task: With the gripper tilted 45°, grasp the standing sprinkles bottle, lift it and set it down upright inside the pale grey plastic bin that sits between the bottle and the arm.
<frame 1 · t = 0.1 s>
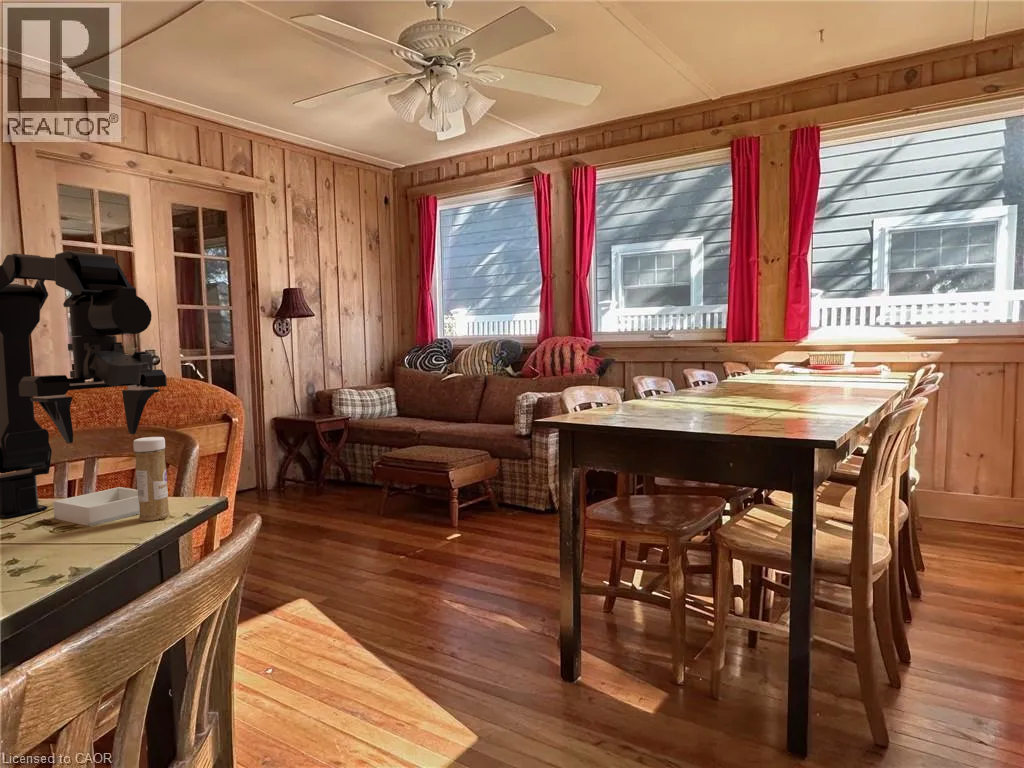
hand: (102, 438, 98), 15 cm above the table, tool pointing down, fingers open, 9 cm apart
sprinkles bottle: (154, 519, 106), on the table
grey bin: (106, 513, 110), on the table
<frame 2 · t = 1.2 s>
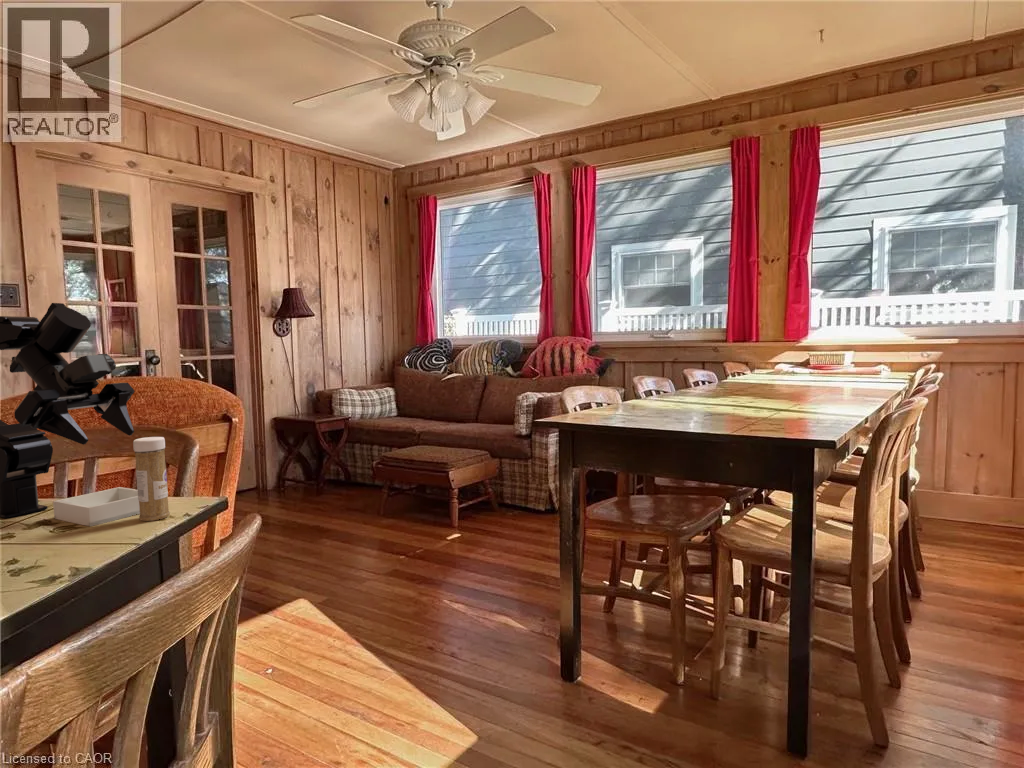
hand: (110, 437, 107), 13 cm above the table, tool tilted 45°, fingers open, 9 cm apart
nothing on the table moved.
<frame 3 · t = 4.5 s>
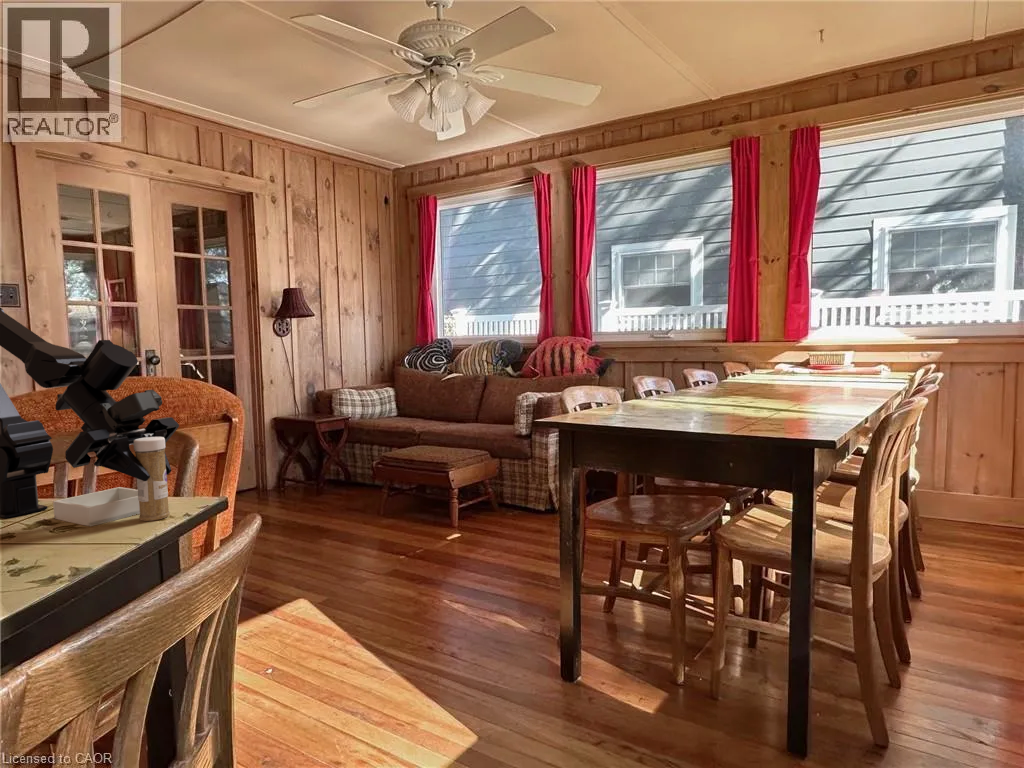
hand: (158, 476, 105), 7 cm above the table, tool tilted 45°, fingers closed on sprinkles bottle, 4 cm apart
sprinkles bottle: (154, 519, 106), on the table, touching gripper
when the fingers open (9 cm above the table, at t = 8.0 s): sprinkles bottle drops 1 cm, resting on grey bin.
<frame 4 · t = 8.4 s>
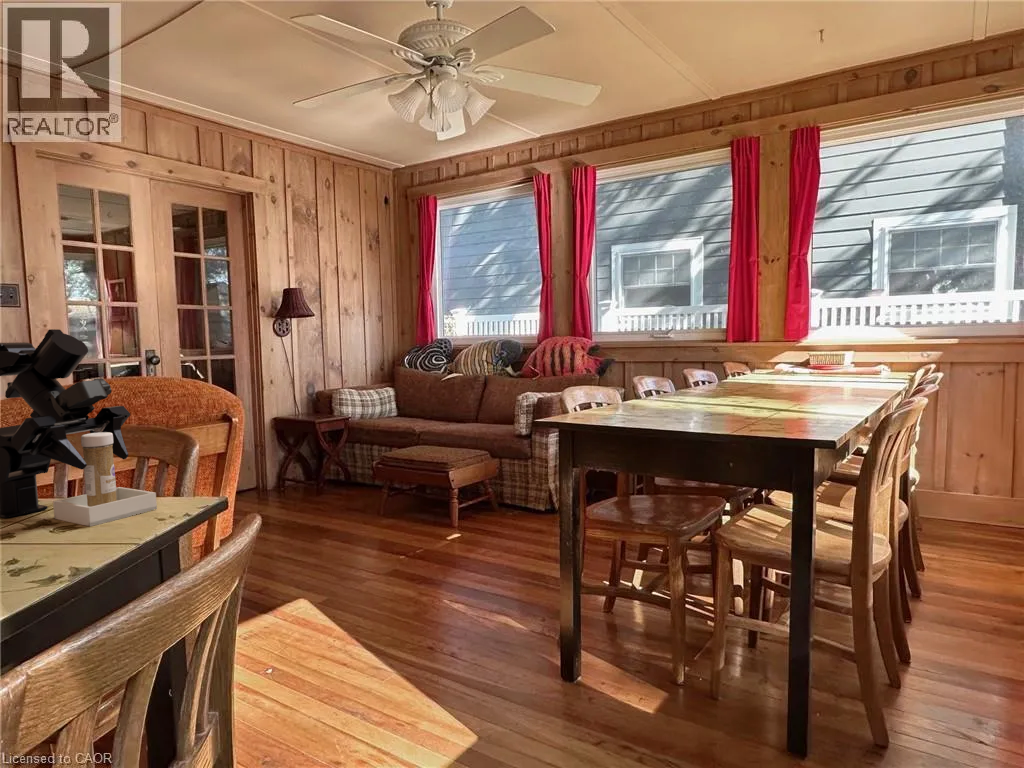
hand: (106, 462, 108), 9 cm above the table, tool tilted 45°, fingers open, 8 cm apart
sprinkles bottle: (102, 512, 109), resting on grey bin
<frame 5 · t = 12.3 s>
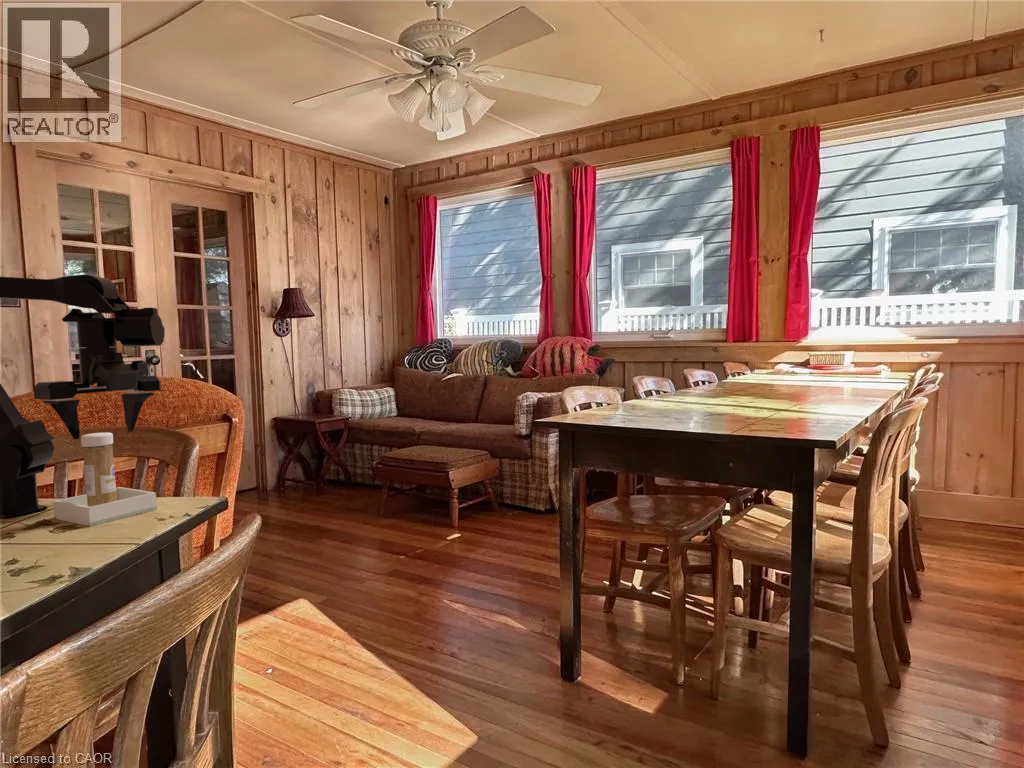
hand: (104, 435, 113), 13 cm above the table, tool pointing down, fingers open, 9 cm apart
nothing on the table moved.
at the end: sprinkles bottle 0.7 cm off-centre on the grey bin, point 0.4 cm above the grey bin's base; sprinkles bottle tilted 0°; the gripper is holding nothing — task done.
